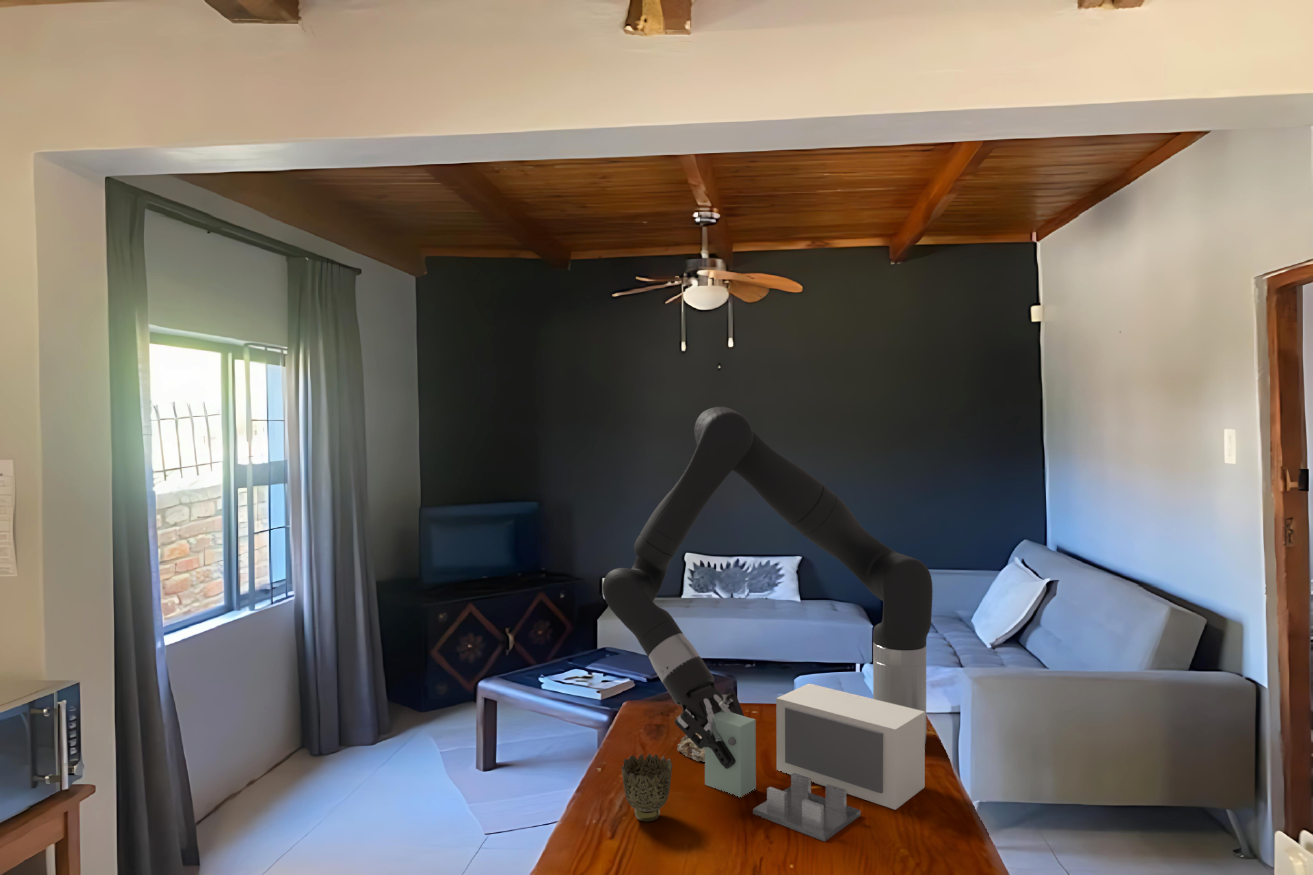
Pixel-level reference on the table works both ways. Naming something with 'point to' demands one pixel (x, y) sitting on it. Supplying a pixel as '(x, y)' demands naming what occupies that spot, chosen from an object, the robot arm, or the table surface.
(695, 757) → the mineral rock
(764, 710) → the table surface
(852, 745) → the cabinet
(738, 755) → the pale green rectangular box
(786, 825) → the grey holder base
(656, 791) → the cup
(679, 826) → the table surface
